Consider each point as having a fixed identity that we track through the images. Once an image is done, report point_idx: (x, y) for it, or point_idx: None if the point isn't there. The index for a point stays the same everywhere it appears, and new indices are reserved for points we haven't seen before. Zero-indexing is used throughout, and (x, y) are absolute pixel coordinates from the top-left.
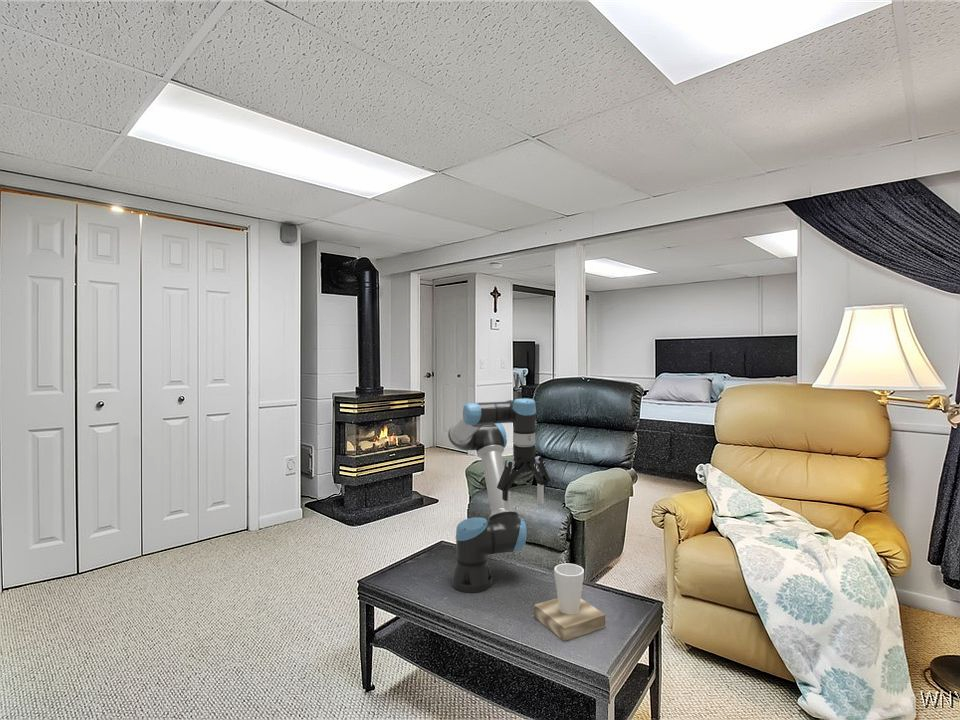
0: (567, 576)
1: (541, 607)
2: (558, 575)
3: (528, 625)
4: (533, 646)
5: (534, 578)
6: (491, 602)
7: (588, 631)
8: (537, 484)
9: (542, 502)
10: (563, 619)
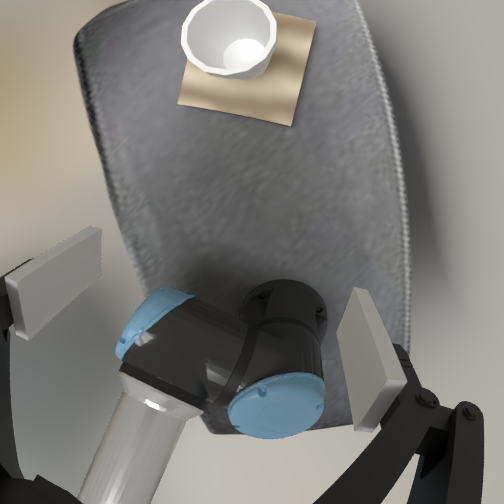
0: (268, 8)
1: (288, 105)
2: (276, 35)
3: (326, 113)
4: (373, 61)
5: (165, 244)
6: (314, 234)
7: None
8: (31, 335)
9: (91, 231)
10: (290, 41)
